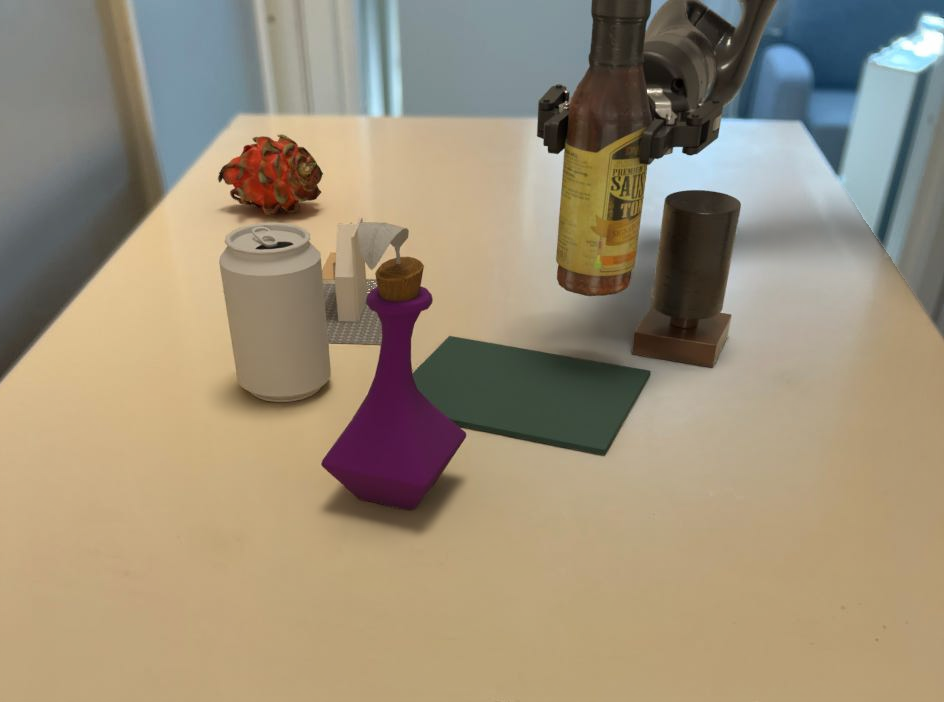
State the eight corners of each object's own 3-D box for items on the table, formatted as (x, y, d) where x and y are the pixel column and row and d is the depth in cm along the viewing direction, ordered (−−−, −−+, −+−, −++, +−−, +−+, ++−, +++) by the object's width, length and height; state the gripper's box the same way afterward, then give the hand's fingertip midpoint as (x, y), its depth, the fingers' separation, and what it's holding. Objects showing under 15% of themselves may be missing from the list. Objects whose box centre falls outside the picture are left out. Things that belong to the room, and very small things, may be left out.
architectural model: (321, 320, 90) (313, 236, 85) (333, 291, 95) (326, 211, 90) (358, 321, 90) (353, 237, 85) (368, 292, 95) (364, 212, 90)
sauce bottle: (611, 307, 76) (643, 3, 63) (540, 289, 79) (556, -6, 65) (646, 279, 80) (682, -11, 67) (577, 263, 83) (599, -20, 70)
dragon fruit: (333, 229, 113) (234, 240, 115) (335, 165, 115) (238, 177, 117) (309, 178, 105) (203, 192, 107) (312, 111, 107) (208, 125, 109)
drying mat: (650, 375, 82) (651, 370, 82) (604, 455, 72) (605, 449, 72) (449, 340, 87) (449, 335, 87) (380, 410, 77) (380, 405, 77)
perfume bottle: (371, 454, 72) (355, 194, 60) (467, 474, 70) (470, 209, 58) (323, 506, 67) (295, 232, 55) (425, 530, 65) (419, 250, 53)
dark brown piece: (727, 335, 88) (754, 194, 80) (712, 367, 83) (739, 220, 75) (650, 323, 90) (669, 183, 82) (631, 354, 85) (649, 208, 77)
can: (262, 415, 76) (240, 258, 68) (224, 378, 81) (199, 228, 73) (348, 391, 79) (336, 238, 72) (306, 357, 84) (291, 210, 76)
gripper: (575, 33, 82) (505, 75, 70) (751, 47, 78) (707, 94, 66) (568, 132, 87) (502, 187, 75) (733, 150, 83) (690, 211, 71)
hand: (598, 143), depth 70 cm, fingers closed on sauce bottle, 6 cm apart
